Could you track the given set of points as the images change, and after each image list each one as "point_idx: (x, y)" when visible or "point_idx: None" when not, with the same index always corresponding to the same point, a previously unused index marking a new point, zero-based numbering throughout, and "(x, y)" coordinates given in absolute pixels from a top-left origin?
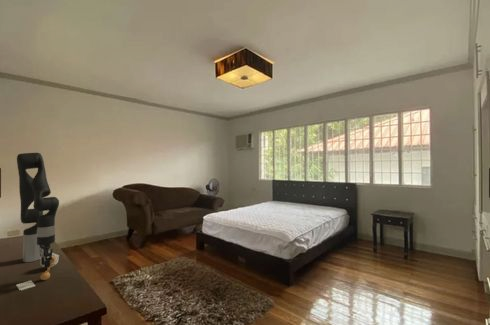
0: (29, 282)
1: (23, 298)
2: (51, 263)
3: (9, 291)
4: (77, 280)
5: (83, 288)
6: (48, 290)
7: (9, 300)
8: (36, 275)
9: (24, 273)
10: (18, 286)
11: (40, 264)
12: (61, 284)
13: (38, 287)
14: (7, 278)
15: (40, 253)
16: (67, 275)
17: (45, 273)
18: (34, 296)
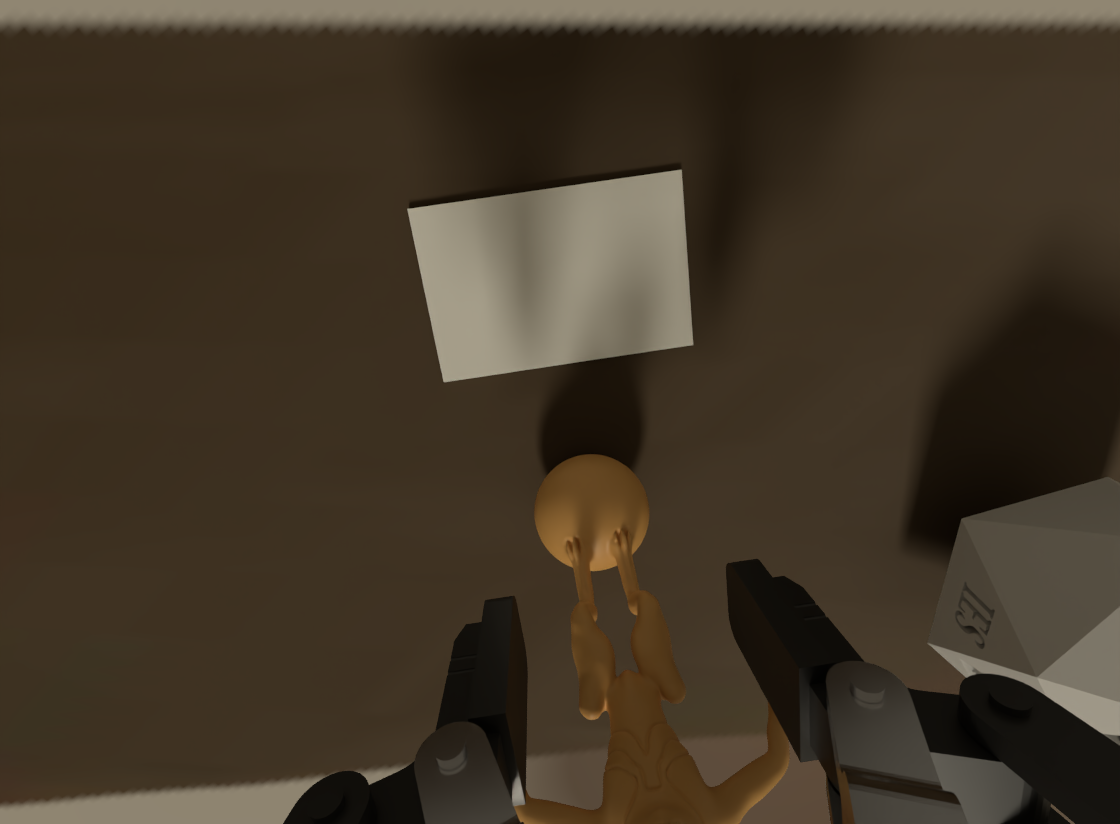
0: (626, 324)
1: (84, 245)
2: (589, 716)
3: (488, 86)
4: (291, 749)
5: (4, 774)
6: (177, 499)
7: (122, 85)
8: (850, 406)
9: (1083, 277)
10: (580, 196)
11: (1104, 488)
12: (281, 619)
13: (366, 410)
14: (1090, 63)
15: (902, 815)
16: (538, 684)
17: (565, 534)
18: (72, 360)
